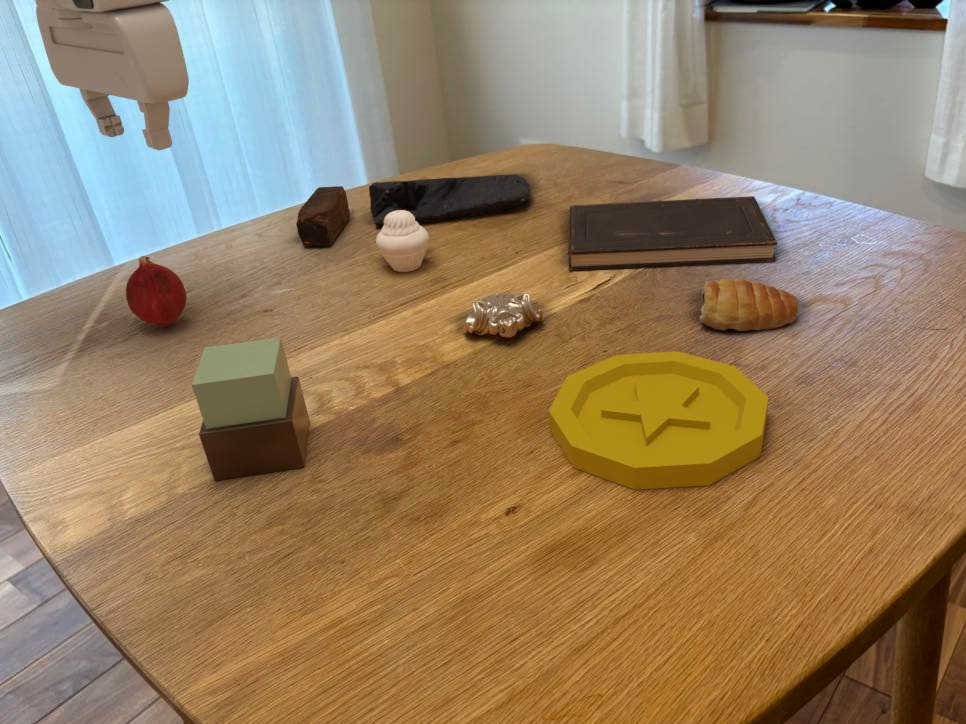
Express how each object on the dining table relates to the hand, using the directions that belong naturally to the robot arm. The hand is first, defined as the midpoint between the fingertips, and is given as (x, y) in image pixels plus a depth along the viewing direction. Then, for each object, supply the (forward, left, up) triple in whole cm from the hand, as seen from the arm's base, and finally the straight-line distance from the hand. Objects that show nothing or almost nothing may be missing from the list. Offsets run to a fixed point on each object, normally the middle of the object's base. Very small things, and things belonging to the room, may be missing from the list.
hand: (136, 141), depth 82 cm
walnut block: (+10, -27, -20) cm, 35 cm away
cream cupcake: (+23, +8, -20) cm, 31 cm away
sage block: (+10, -27, -15) cm, 32 cm away
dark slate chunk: (+30, +28, -20) cm, 46 cm away
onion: (-3, 0, -20) cm, 20 cm away
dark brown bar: (+13, +23, -20) cm, 33 cm away
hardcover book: (+54, +6, -20) cm, 58 cm away
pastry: (+55, -16, -20) cm, 61 cm away
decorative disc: (+42, -32, -20) cm, 56 cm away
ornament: (+32, -12, -20) cm, 39 cm away
